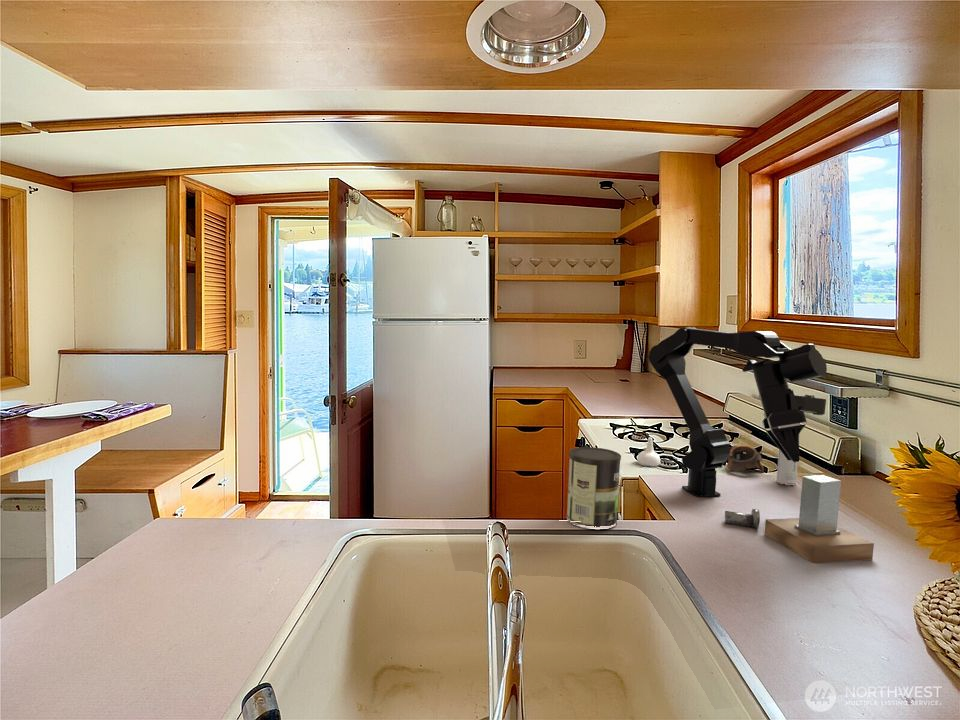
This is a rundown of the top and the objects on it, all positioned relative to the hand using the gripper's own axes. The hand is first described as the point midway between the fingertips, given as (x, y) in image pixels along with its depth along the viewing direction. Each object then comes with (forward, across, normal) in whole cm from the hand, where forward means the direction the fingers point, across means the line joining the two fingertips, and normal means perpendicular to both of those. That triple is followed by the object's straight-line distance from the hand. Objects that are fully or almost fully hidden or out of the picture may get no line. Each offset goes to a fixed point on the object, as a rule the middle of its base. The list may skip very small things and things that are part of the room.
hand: (793, 461), depth 106 cm
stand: (+15, -8, +1) cm, 17 cm away
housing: (+13, -8, 0) cm, 15 cm away
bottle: (+7, +34, 0) cm, 35 cm away
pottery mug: (+3, +41, +9) cm, 42 cm away
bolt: (+11, -4, +13) cm, 17 cm away
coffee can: (+6, -17, +40) cm, 44 cm away
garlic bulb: (-2, +33, +33) cm, 46 cm away
